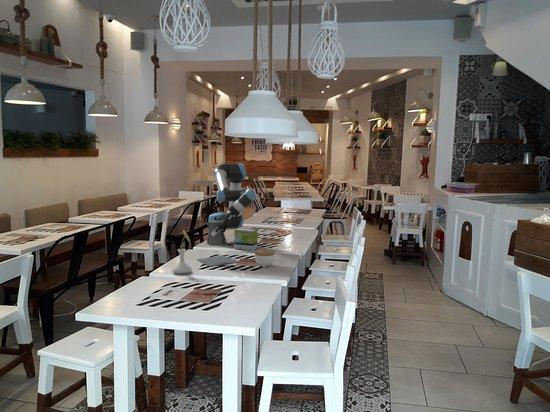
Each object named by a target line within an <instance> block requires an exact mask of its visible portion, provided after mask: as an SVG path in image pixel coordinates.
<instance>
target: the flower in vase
mask: <svg viewBox="0 0 550 412" xmlns="http://www.w3.org/2000/svg"><path fill="white" fill-rule="evenodd" d="M182 234H183V235H184V236H183V239H182V241H181V245H180V246H179V247H180V248H178V249H177V252H178V254H179V261H178V263H177V264H176V265H175V266H174V267H173V268H172V270H171V271H172V272H173V273H174V274H179V275H180V274H181V275H182V274H188V273H190V272H192V270H193V269H192V267H191V266H190V265H189V264H188V263H186V262H185V253H186V251H187V249H186V248H183V247H185V243H184V241H185V240H184V239H185V238H186V240H187V242H191V239H190V238H189V235H188V233H187V232H186V231H185V230H184V229H183V230H182Z"/></svg>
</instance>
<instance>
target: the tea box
mask: <svg viewBox="0 0 550 412" xmlns="http://www.w3.org/2000/svg"><path fill="white" fill-rule="evenodd" d="M233 230H234V234H233V235H234V237H233V238H234V240H233V242H234V243H233V247H234V250H245V251H254V250H255V251H256V249H258V228H247V227H241V228H238V229H233Z"/></svg>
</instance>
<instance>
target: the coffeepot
mask: <svg viewBox="0 0 550 412" xmlns="http://www.w3.org/2000/svg"><path fill="white" fill-rule="evenodd" d="M216 218H217V217H214V219H215V220H212V221H209V220H208V221H207V222H206V224H205V225H207V227H208V230H209V229H210V234H211V233H212V232H213V231H214V230H215V229H216V228H217V227H218V226H219V225H220V224H221V223H222V222H223V220H220V221H219V220H216ZM217 225H218V226H217ZM226 227H227V224H226V225H225V226H224V231H222V233H224V234H225V233H226V230H227V229H226ZM208 245H209V246H211V247H214V246H215V247H217V246H218V247H220V246H223V245H224V244H223V243H222V237H221V230H220V231H219V232H218V233H217V234H216V235H215V236H214V237H213V236H212V235H210V240H209V244H208Z"/></svg>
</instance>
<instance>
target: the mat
mask: <svg viewBox="0 0 550 412" xmlns="http://www.w3.org/2000/svg"><path fill="white" fill-rule="evenodd" d="M196 261H198V262H200V263H201V264H204V265H205V266H208V267H210V268H212V267H217V266H224V265H231V264H236V263H239V261H238V260H236V259H234V258H231V257H229V256H227V255H224V254H223V255H216V256H210V257H203V258H196Z"/></svg>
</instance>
